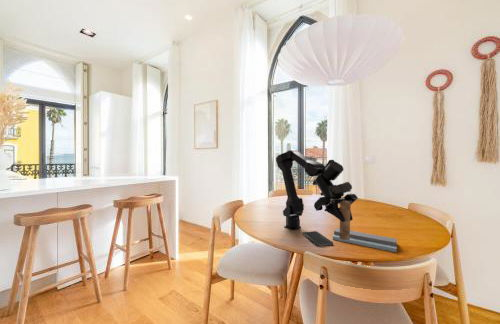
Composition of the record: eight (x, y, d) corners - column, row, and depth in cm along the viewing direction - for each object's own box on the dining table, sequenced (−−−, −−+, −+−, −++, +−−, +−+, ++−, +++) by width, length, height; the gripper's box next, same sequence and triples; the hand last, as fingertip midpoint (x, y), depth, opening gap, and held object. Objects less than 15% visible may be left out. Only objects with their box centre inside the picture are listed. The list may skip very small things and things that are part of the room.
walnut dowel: (337, 237, 86) (338, 201, 85) (342, 235, 88) (343, 200, 88) (347, 240, 83) (347, 203, 83) (351, 238, 86) (352, 202, 85)
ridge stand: (332, 239, 100) (332, 232, 100) (337, 232, 109) (337, 226, 109) (396, 252, 87) (396, 245, 87) (396, 243, 96) (396, 236, 96)
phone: (317, 245, 93) (301, 232, 107) (317, 247, 93) (301, 234, 107) (334, 243, 94) (316, 230, 109) (334, 245, 94) (316, 233, 109)
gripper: (319, 176, 84) (342, 212, 75) (354, 174, 92) (379, 206, 83) (305, 193, 92) (324, 228, 82) (339, 190, 100) (359, 221, 90)
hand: (348, 220), depth 84 cm, fingers closed on walnut dowel, 4 cm apart
